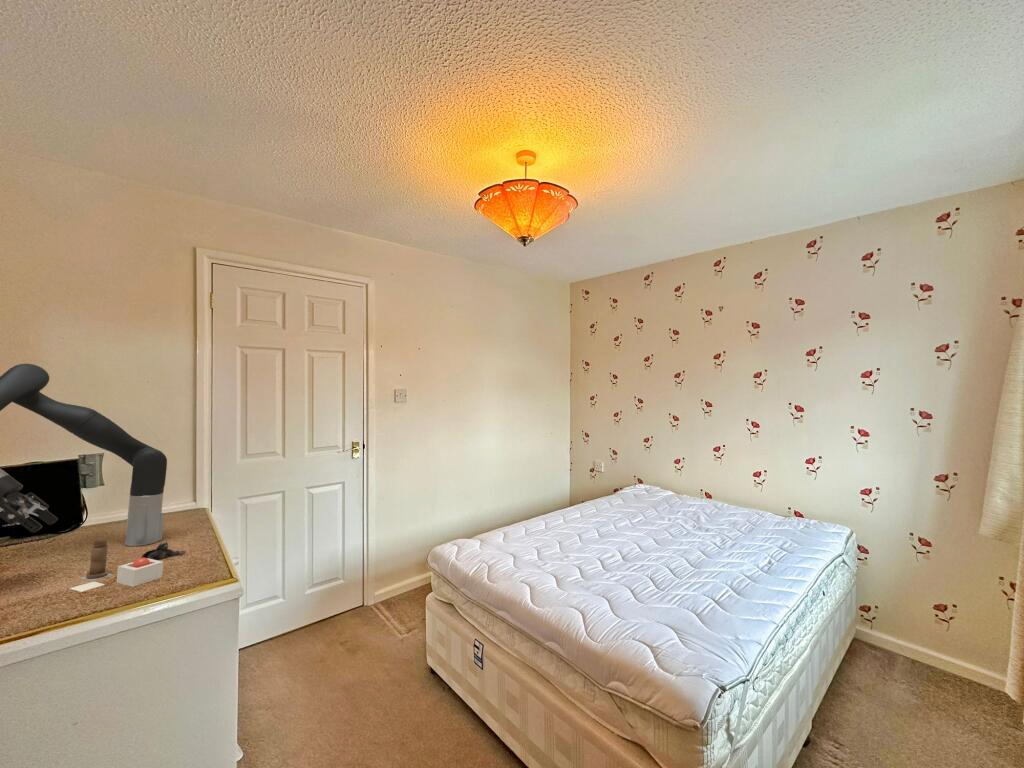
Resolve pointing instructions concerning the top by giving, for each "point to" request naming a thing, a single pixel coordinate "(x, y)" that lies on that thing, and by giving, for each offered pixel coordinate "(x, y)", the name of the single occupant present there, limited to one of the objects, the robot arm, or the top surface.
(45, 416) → the robot arm
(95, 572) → the pawn
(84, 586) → the game board
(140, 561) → the popper button
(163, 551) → the stuffed animal
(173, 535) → the top surface
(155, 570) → the popper housing
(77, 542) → the top surface
